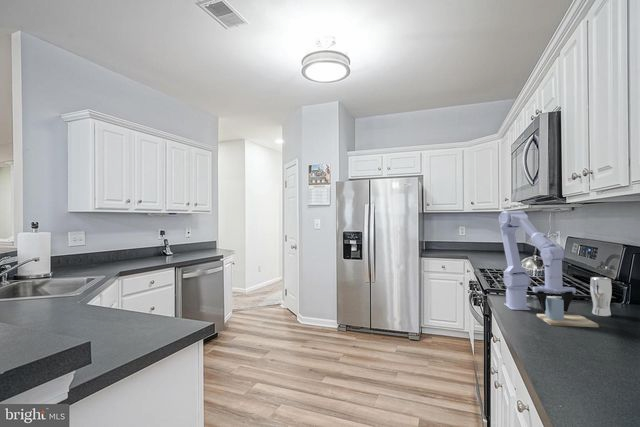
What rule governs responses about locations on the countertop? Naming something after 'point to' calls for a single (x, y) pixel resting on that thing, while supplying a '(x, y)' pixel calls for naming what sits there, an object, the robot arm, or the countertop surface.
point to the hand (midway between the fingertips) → (554, 310)
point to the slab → (554, 308)
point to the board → (569, 321)
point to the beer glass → (601, 295)
